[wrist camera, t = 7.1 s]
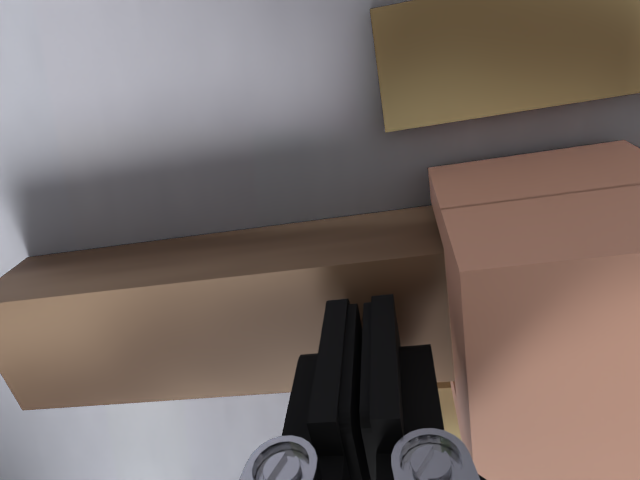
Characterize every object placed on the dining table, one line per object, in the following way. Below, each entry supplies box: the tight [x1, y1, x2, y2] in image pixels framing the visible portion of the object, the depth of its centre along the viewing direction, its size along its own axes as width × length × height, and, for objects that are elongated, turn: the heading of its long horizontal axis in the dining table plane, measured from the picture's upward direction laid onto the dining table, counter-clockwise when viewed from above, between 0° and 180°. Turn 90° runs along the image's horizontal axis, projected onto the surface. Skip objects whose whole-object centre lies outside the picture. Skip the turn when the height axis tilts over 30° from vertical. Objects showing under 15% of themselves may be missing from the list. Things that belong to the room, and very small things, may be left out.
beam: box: [0, 0, 640, 441], centre depth 13 cm, size 15×34×4 cm, turn 101°
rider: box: [428, 140, 640, 480], centre depth 12 cm, size 7×5×6 cm
